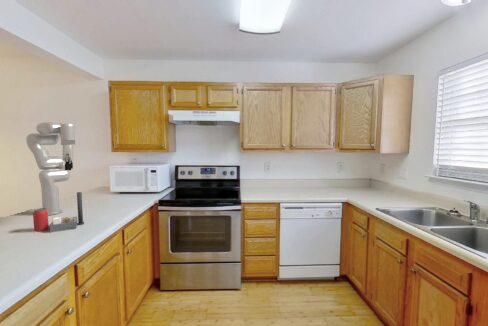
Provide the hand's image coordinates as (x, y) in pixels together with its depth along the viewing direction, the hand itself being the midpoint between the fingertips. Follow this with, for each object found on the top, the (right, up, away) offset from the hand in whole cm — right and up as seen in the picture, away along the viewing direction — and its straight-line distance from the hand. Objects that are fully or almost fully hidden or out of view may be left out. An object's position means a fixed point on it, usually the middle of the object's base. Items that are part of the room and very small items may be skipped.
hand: (69, 169), depth 157 cm
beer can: (-5, -35, -16) cm, 39 cm away
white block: (+5, -31, -17) cm, 35 cm away
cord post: (+11, -34, -6) cm, 36 cm away
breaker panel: (+6, -34, -12) cm, 37 cm away
